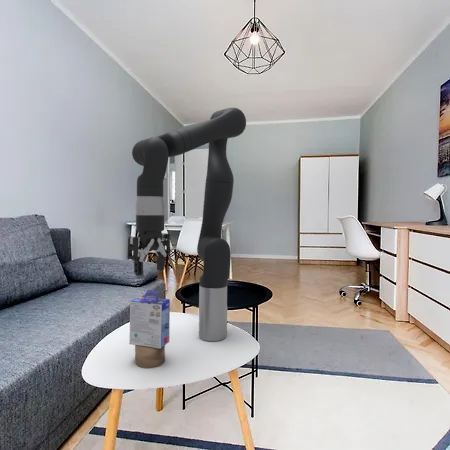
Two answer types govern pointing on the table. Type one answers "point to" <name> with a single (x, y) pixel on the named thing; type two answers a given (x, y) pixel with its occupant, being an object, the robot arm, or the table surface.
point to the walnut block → (149, 356)
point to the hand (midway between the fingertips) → (150, 272)
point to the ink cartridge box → (149, 321)
